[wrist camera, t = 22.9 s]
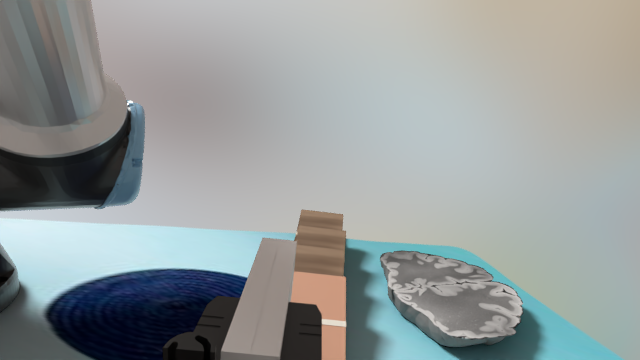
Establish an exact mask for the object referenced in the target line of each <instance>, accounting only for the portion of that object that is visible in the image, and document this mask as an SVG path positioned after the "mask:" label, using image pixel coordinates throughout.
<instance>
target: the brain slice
mask: <svg viewBox="0 0 640 360" xmlns="http://www.w3.org/2000/svg"><path fill="white" fill-rule="evenodd" d="M380 261H381V266H382V268H383V269H384V274H385V277H386V280H387V282H388V296H389V298H390V300H391V301H392V302H393V303H394V304H395V306H396V308H397V310H398V311H399V312H400V313H401V314H402V315H403V316H404V317H405V318H406V319H407V320H409V321H410V322H412V323H414V324H416V325H417V326H418V328H419V329H420V330H421V331H422V332H424V333H426V334H427V335H428V336H429V337H430V338H432V339H434V340H435V341H436V342H438V343H439V344H441V345H444V346H448V347H464V346H469V345H476V344H481V343H484V344H487V345H492V344H495V343H497V342H500V341H501V340H503V339H504V338H505V337H506V336H512V335H514V334H515V333H516V331H515V328H516V326H517V325H518V324H519V323H520V322H521V320H520V319H521V318H520V316H521V315H522V314H523V308H522V306H521V305H522V304H523V302H522V300H521V298H520V297H519V296H518V294H517V292H516V291H515V290H514V289H513V288H511V287H510V286H508V285H506V284H503V283H500V282H491V281H492V280H493V276H492V275H491V274H489V273H488V272H487V271H486V270H484V269H483V268H481V267H478V266H475V265H468V264H467V263H466V262H463V261H460V260H456V259H449V258H444V257H441V256H437V255H430V254H425V253H420V252H415V251H394V252H393V253H391V252H387V253H384V254H382V255H381V257H380Z"/></svg>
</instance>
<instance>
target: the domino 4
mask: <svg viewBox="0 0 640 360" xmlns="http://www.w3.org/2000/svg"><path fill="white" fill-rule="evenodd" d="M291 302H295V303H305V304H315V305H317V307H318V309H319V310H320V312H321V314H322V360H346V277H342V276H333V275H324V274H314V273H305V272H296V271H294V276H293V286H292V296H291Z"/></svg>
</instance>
